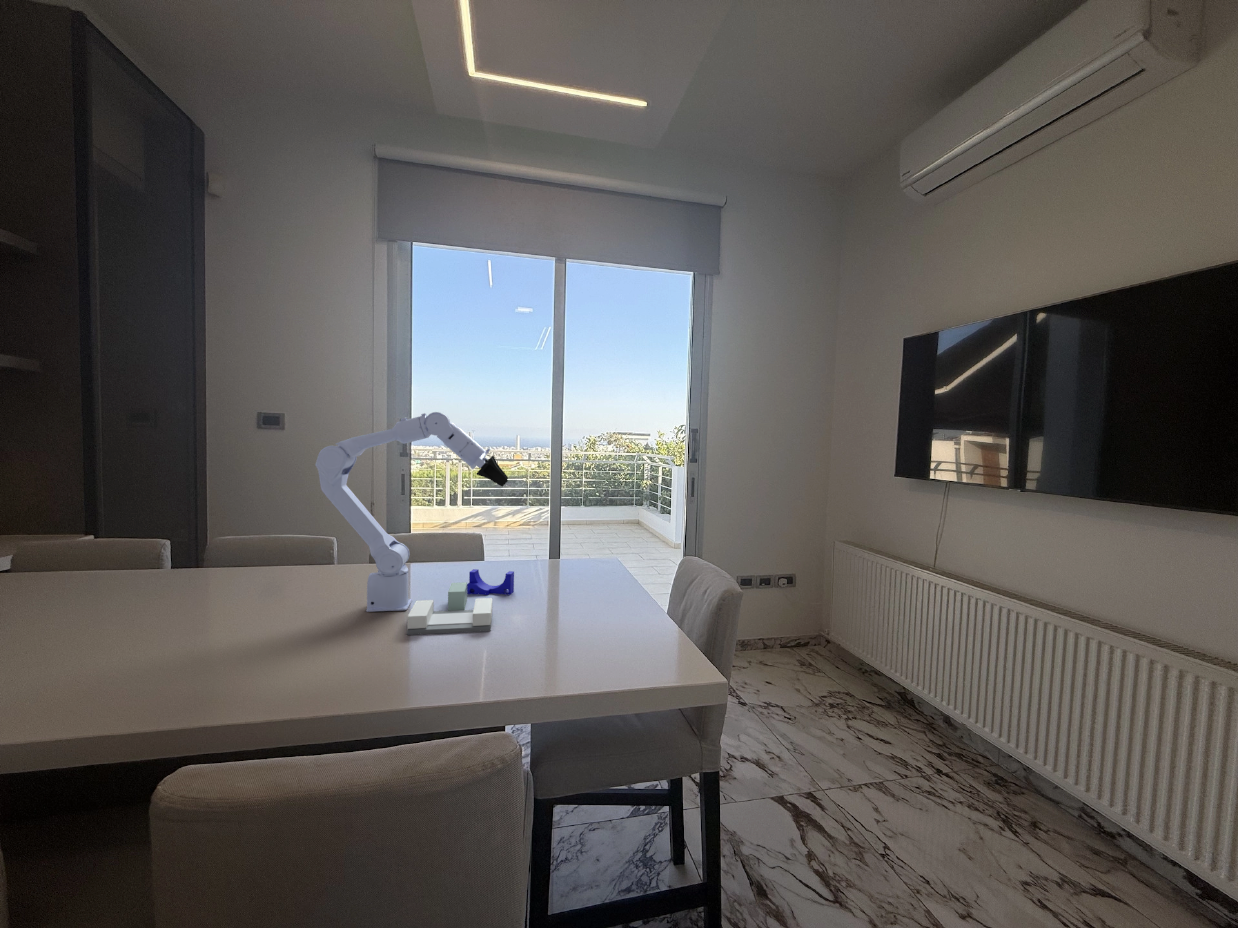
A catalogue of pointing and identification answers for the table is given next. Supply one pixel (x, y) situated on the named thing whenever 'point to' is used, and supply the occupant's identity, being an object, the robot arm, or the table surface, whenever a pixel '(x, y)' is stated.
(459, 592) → the block
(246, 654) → the table surface
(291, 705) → the table surface
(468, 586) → the blue cradle bracket
